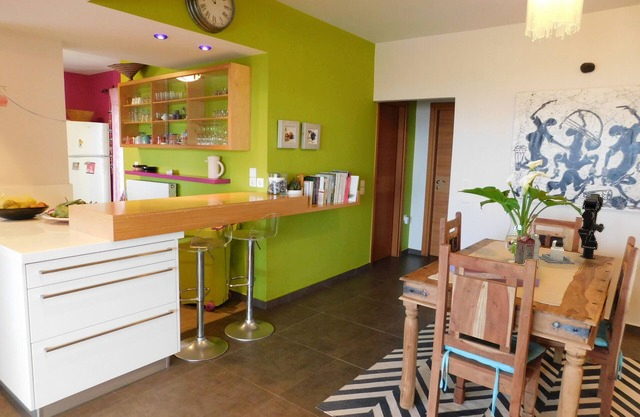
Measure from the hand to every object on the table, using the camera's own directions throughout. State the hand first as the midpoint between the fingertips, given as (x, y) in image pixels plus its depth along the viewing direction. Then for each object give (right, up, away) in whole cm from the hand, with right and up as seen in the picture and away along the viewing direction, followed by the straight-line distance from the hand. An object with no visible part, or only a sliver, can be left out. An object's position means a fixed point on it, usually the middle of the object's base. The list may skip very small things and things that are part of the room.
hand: (585, 243), depth 266 cm
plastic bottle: (-39, -14, -11) cm, 43 cm away
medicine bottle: (-15, -11, +6) cm, 20 cm away
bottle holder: (-15, -12, +6) cm, 20 cm away
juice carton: (-49, -15, -20) cm, 55 cm away
